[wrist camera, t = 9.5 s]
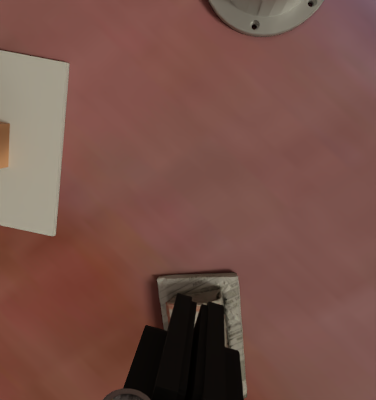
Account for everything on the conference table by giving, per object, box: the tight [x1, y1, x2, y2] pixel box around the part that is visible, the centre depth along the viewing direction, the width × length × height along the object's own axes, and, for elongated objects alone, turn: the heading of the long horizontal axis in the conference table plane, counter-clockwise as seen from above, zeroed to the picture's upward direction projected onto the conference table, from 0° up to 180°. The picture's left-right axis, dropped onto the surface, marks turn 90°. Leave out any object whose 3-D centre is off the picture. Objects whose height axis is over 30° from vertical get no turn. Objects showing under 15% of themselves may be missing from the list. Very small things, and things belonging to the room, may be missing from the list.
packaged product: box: [157, 273, 247, 398], centre depth 39 cm, size 18×5×10 cm
